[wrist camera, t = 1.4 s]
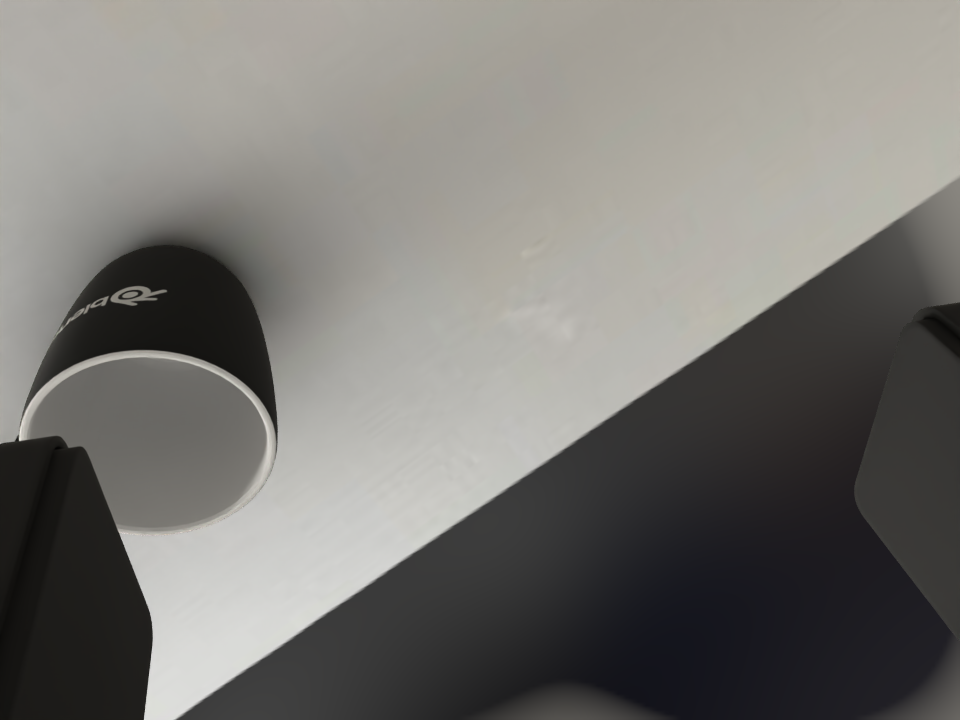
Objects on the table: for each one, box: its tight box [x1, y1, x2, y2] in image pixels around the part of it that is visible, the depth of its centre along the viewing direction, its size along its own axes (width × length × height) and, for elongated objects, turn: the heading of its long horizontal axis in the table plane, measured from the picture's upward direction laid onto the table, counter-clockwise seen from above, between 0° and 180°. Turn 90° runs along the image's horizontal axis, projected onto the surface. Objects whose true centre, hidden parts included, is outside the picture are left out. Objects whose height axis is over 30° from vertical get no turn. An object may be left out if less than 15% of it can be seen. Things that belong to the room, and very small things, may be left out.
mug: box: [15, 246, 278, 536], centre depth 36 cm, size 12×9×10 cm
